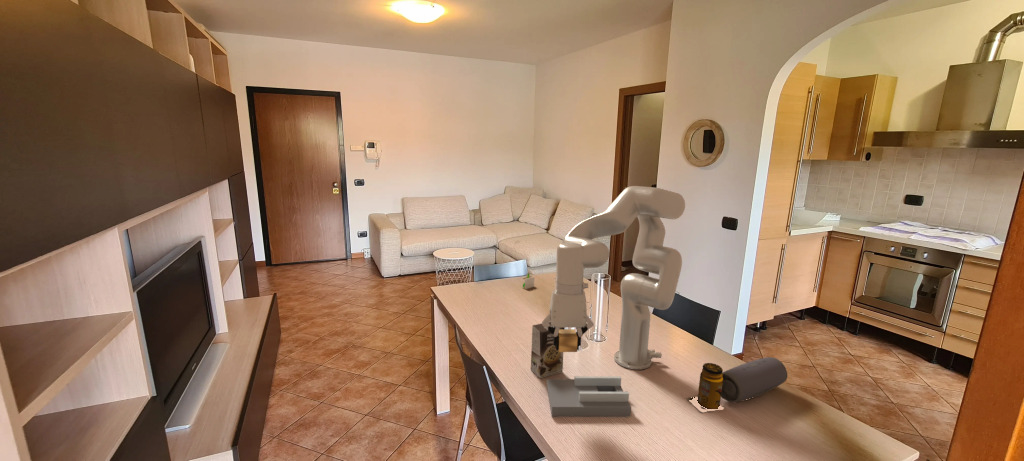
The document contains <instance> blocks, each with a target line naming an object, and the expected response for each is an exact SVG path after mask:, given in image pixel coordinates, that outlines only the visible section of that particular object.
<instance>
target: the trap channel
mask: <svg viewBox="0 0 1024 461" xmlns="http://www.w3.org/2000/svg"><path fill="white" fill-rule="evenodd" d="M546 390H547V391H546V392H547V397H548V398H547V399H548V403H549V408H550V415H551V417H553V418H554V417H557V418H558V417H559V418H562V417H565V418H566V417H567V418H568V417H569V418H574V417H576V418H577V417H578V418H579V417H580V418H581V417H582V418H583V417H586V418H587V417H588V418H589V417H590V418H593V417H595V418H596V417H597V418H598V417H602V418H603V417H606V418H607V417H608V418H611V417H612V418H614V417H615V418H621V417H622V418H630V417H631V415H632V414H631V412H632V406H631V404H630V402H629V399H630V398H629V397H630V392H629V391H624V389H623V388H622V376H616V375H615V376H609V375H608V376H606V375H605V376H602V375H601V376H599V375H598V376H595V375H591V376H589V375H587V376H585V375H583V376H582V375H576V376H574V377H573V379H570V378H567V379H566V378H559V379H558V378H556V379H555V378H548V379H547V378H546Z"/></svg>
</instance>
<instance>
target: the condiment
mask: <svg viewBox="0 0 1024 461" xmlns="http://www.w3.org/2000/svg"><path fill="white" fill-rule="evenodd" d="M723 372H724V370H723V367H721V366H720V365H718V364H716V363H712V362H705V363H703V365H702V369H701V372H700V374H699V382H698V389H697V390H698V391H697V396H698V400H697V401H698V403H699V404H700V405H701V406H703V407H705V408H707V409H718V407H719V406H720V404H721V400H722V397H721V392H722V384H723V377H722V373H723ZM691 397H692V398H691ZM693 397H694V398H695V396H690V397H689V396H687V397H685V399H686V400H687V402H689V400H692V399H693Z"/></svg>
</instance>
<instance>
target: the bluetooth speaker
mask: <svg viewBox="0 0 1024 461" xmlns="http://www.w3.org/2000/svg"><path fill="white" fill-rule="evenodd" d="M722 377H723V384H722V392H721V399H723V400H725V401H727V402H728V403H739V402H742V401H743V400H744V401H747V400H746V399H749V398H752V397H754V398H757V397H759V396H761V395H764V394H766V393H767V392H770V391H771V390H773V389H775V388H777V387H779V386H781V385H782V384H784V383H785V382H786V381H787V380H788V371H787V368H786V367H785V364H784V363H783V362H782V361H781V360H779V359H777V358H776V357H771V356H768V357H762V358H759V359H756V360H751V361H749V362H745V363H742V364H740V365H736V366H734V367H732V368H729V369H727V370H725V371H723V372H722ZM752 399H753V398H752ZM749 400H750V399H749Z"/></svg>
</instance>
